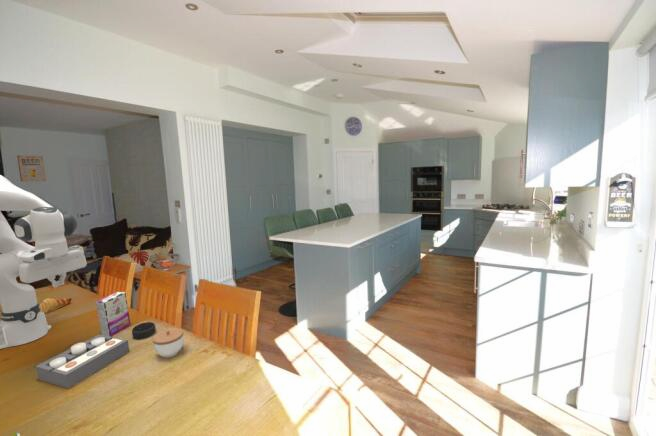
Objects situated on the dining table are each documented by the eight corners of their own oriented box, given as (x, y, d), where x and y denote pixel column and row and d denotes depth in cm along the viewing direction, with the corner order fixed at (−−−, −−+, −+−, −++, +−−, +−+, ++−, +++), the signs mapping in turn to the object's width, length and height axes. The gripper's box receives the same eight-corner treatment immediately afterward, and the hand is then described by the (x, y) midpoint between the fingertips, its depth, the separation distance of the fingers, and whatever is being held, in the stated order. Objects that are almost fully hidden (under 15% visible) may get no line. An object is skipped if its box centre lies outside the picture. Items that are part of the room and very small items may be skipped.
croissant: (24, 326, 156) (24, 314, 153) (16, 314, 160) (16, 302, 157) (75, 308, 174) (75, 298, 171) (66, 298, 178) (66, 287, 175)
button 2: (69, 357, 116) (67, 347, 115) (82, 351, 120) (80, 341, 119) (77, 359, 114) (75, 349, 114) (90, 353, 118) (88, 343, 118)
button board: (38, 379, 109) (35, 365, 108) (101, 345, 129) (99, 333, 129) (68, 388, 104) (65, 373, 103) (129, 351, 124) (127, 338, 123)
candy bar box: (122, 324, 148) (117, 291, 145) (130, 324, 147) (126, 291, 144) (100, 336, 137) (95, 301, 134) (110, 337, 136) (104, 301, 133)
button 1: (48, 373, 109) (46, 363, 109) (62, 366, 114) (60, 356, 113) (56, 376, 108) (54, 365, 107) (70, 368, 112) (68, 358, 111)
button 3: (89, 351, 122) (88, 342, 122) (101, 345, 127) (99, 336, 126) (97, 353, 121) (96, 343, 120) (108, 347, 125) (107, 338, 125)
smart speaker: (127, 339, 134) (126, 330, 134) (144, 328, 143) (143, 320, 142) (144, 341, 132) (143, 332, 131) (160, 330, 141) (159, 322, 140)
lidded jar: (189, 352, 122) (187, 329, 121) (160, 364, 115) (157, 341, 113) (178, 342, 130) (176, 321, 128) (150, 354, 122) (147, 331, 121)
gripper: (77, 243, 126) (82, 276, 129) (13, 257, 107) (20, 295, 110) (87, 244, 124) (92, 277, 127) (24, 258, 105) (31, 297, 107)
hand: (58, 285), depth 118 cm, fingers closed
